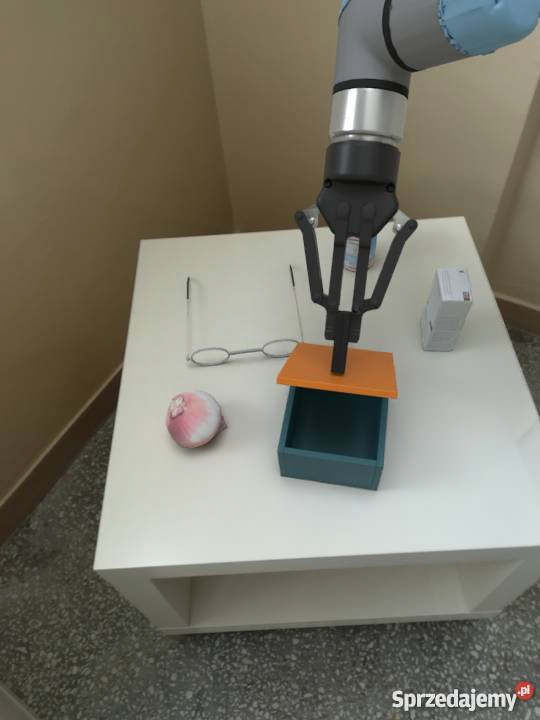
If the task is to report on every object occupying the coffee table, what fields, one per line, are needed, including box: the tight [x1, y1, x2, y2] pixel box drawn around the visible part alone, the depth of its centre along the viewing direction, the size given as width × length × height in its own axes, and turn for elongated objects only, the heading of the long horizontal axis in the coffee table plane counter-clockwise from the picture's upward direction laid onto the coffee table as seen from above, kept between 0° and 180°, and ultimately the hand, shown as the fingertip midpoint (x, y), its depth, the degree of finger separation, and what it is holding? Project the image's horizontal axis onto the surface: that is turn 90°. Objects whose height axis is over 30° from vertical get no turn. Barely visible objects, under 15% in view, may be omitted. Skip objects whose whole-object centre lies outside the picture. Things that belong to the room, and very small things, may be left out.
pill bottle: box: [344, 235, 378, 272], centre depth 86 cm, size 6×6×11 cm
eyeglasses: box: [185, 264, 305, 367], centre depth 84 cm, size 18×19×4 cm
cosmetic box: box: [420, 267, 474, 352], centre depth 76 cm, size 6×4×12 cm
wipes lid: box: [275, 341, 398, 400], centre depth 63 cm, size 16×13×1 cm
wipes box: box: [276, 385, 390, 492], centre depth 70 cm, size 16×13×8 cm
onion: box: [165, 389, 228, 449], centre depth 72 cm, size 8×8×7 cm
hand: (338, 370), depth 59 cm, fingers closed
